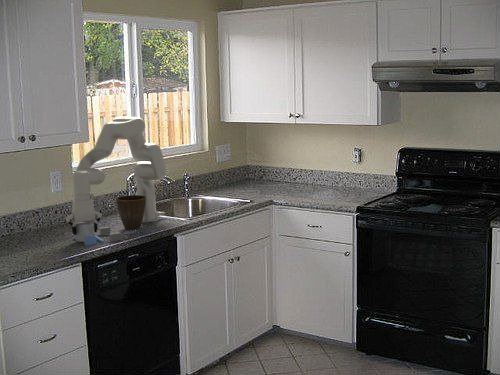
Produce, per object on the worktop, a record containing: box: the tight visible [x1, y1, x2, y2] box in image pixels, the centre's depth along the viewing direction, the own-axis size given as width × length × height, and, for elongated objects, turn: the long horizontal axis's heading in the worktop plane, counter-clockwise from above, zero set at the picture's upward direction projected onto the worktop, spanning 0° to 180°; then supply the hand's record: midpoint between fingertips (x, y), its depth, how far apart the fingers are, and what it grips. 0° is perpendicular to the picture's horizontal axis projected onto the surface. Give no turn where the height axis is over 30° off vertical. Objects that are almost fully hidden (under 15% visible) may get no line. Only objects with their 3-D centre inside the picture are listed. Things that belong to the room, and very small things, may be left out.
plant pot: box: [115, 194, 146, 231], centre depth 355 cm, size 15×15×16 cm
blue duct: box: [74, 234, 105, 246], centre depth 332 cm, size 8×18×4 cm, turn 30°
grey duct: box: [98, 226, 130, 242], centre depth 338 cm, size 8×18×4 cm, turn 30°
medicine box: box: [75, 221, 96, 243], centre depth 331 cm, size 8×4×9 cm, turn 73°
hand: (85, 233), depth 331 cm, fingers open, 9 cm apart
